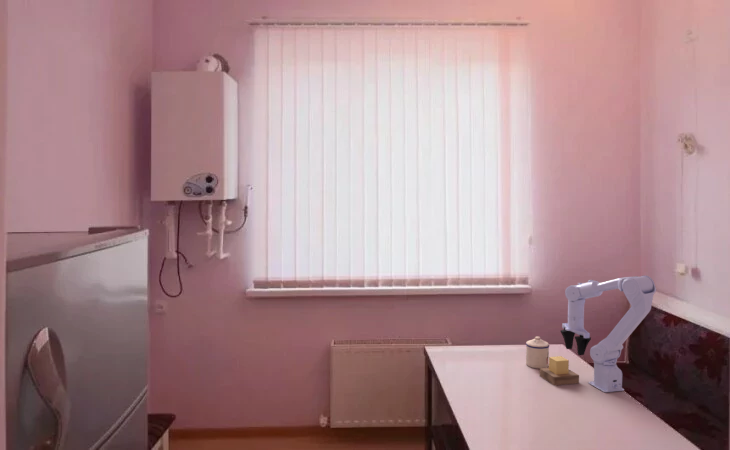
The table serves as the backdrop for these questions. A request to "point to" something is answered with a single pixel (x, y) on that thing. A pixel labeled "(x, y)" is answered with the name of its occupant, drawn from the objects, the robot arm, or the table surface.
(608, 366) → the robot arm
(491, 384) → the table surface
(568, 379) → the walnut base
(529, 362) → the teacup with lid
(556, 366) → the ochre block
